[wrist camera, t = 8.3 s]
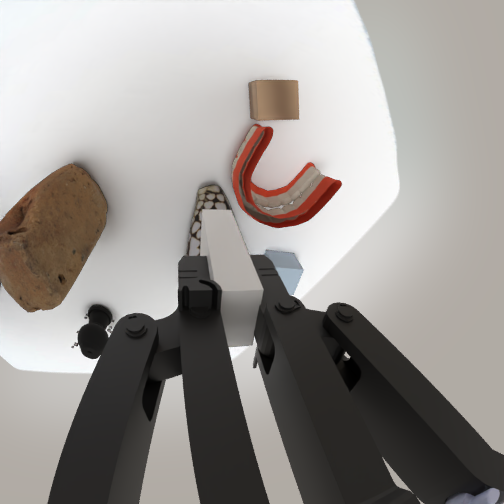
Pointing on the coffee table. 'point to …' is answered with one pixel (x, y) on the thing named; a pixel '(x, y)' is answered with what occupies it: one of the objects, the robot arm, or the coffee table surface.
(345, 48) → the coffee table surface
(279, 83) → the walnut block
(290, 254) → the slate block
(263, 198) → the toy
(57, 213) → the brown rock
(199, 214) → the seashell
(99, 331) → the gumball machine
